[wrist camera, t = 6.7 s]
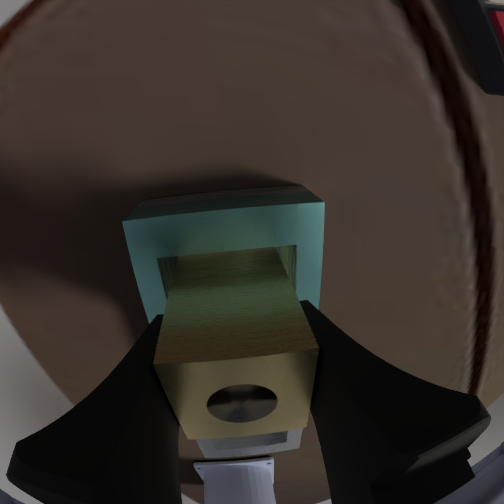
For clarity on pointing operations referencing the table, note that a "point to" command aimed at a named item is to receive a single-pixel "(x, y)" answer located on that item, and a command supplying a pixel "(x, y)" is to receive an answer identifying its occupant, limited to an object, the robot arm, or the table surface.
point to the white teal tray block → (228, 239)
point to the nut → (235, 346)
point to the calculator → (484, 38)
